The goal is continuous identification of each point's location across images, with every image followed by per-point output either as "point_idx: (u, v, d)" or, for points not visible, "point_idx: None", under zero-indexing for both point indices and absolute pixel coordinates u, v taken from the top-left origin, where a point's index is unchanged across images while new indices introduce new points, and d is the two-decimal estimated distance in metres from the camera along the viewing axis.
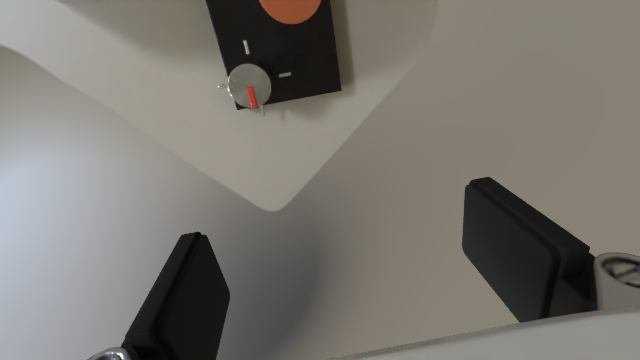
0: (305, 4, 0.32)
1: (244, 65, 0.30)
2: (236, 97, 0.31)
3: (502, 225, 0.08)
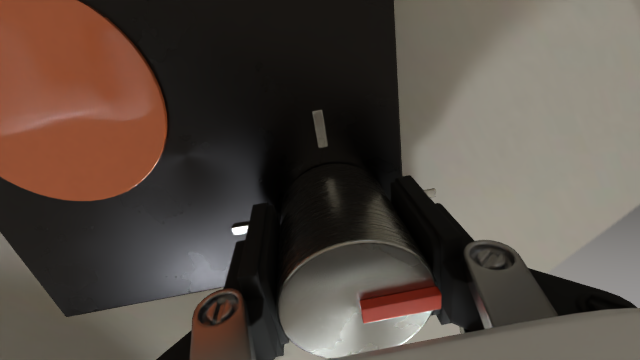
0: (88, 54, 0.09)
1: (283, 321, 0.08)
2: (392, 341, 0.09)
3: (409, 218, 0.09)
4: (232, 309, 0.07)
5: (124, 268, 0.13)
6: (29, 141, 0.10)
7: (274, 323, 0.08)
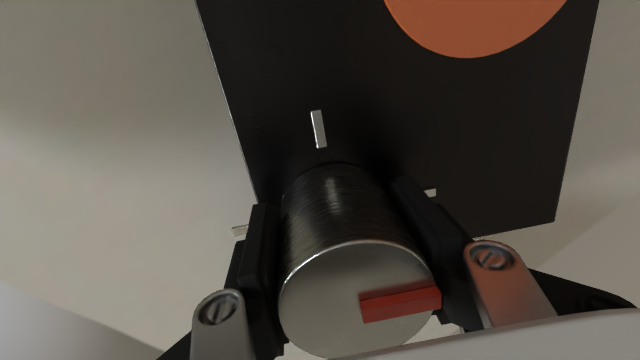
0: None
1: (283, 322, 0.08)
2: (392, 340, 0.09)
3: (409, 218, 0.09)
4: (232, 309, 0.07)
5: None
6: None
7: (274, 323, 0.08)
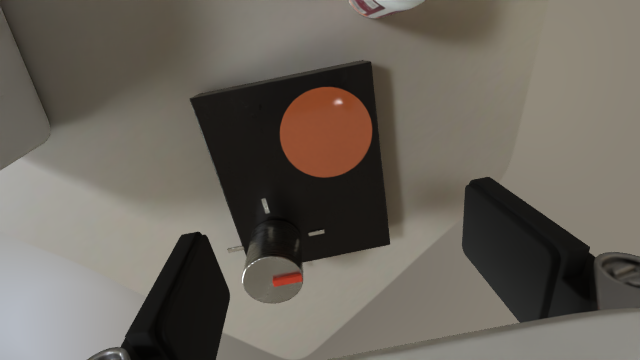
0: (346, 154, 0.23)
1: (245, 286, 0.22)
2: (288, 295, 0.22)
3: (502, 225, 0.08)
4: None
5: (234, 142, 0.22)
6: (311, 121, 0.22)
7: None
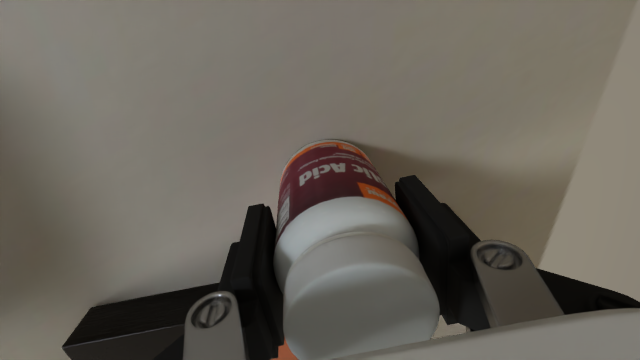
0: None
1: None
2: None
3: (415, 217, 0.09)
4: (225, 312, 0.07)
5: None
6: None
7: (268, 325, 0.08)
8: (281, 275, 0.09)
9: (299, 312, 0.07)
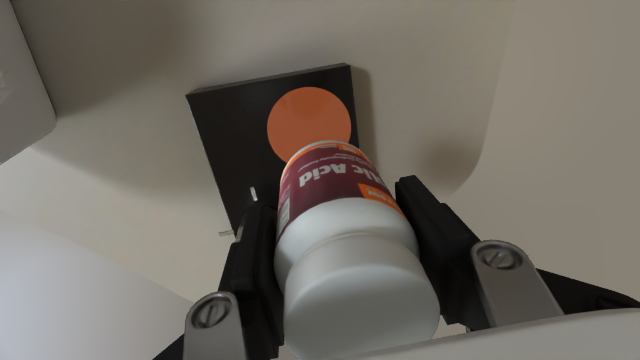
0: None
1: None
2: None
3: (415, 217, 0.09)
4: (225, 312, 0.07)
5: (225, 135, 0.25)
6: (295, 117, 0.24)
7: (268, 325, 0.08)
8: (281, 276, 0.09)
9: (299, 313, 0.07)
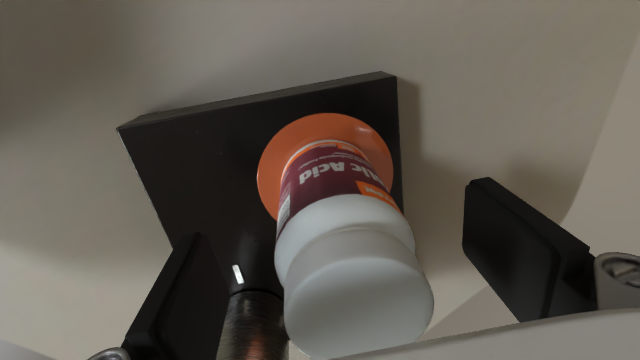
0: None
1: None
2: None
3: (502, 225, 0.08)
4: None
5: (189, 190, 0.15)
6: None
7: None
8: (282, 270, 0.09)
9: (299, 304, 0.07)
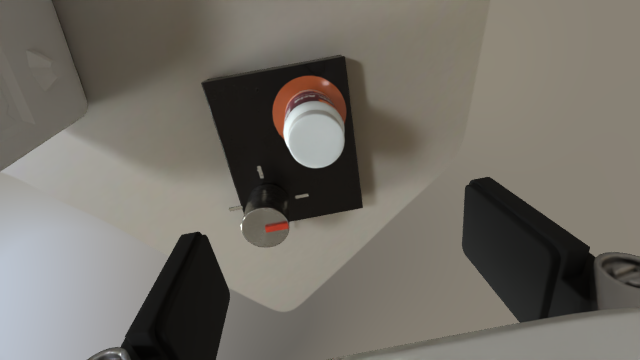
0: None
1: (243, 232, 0.28)
2: (277, 240, 0.28)
3: (502, 225, 0.08)
4: None
5: (236, 118, 0.28)
6: None
7: None
8: (287, 133, 0.22)
9: (293, 133, 0.20)
